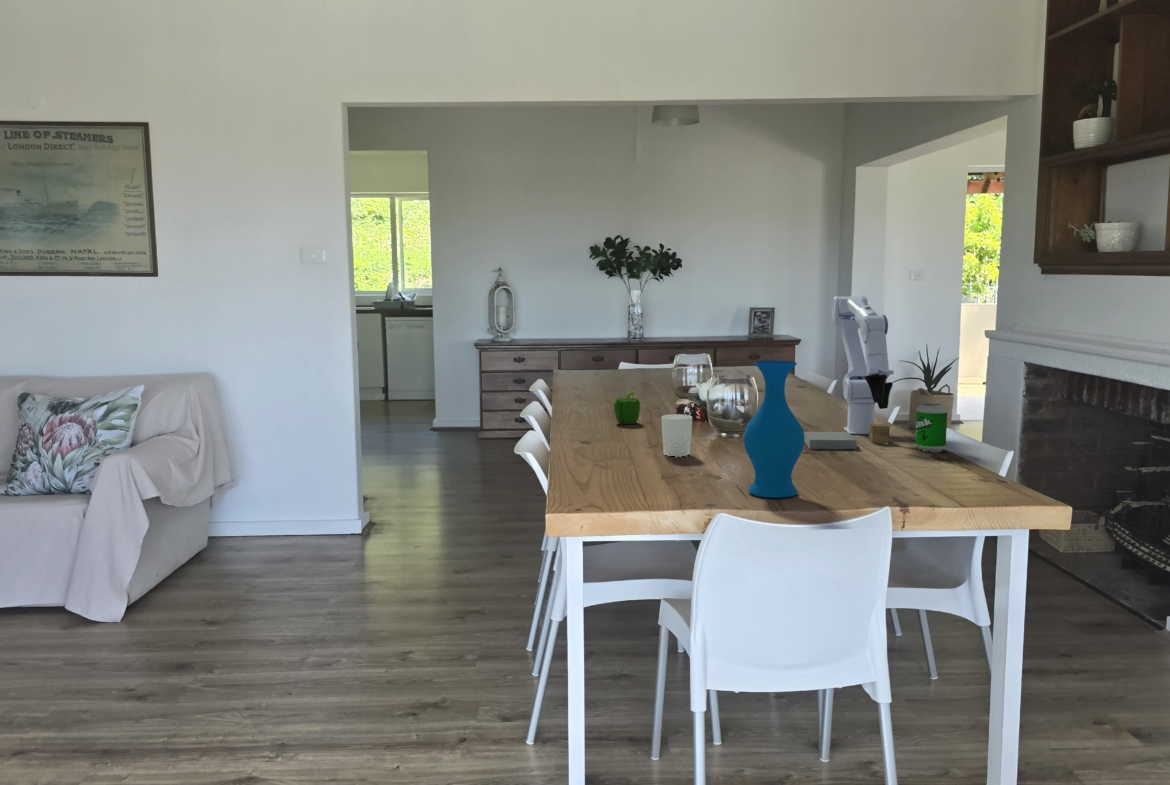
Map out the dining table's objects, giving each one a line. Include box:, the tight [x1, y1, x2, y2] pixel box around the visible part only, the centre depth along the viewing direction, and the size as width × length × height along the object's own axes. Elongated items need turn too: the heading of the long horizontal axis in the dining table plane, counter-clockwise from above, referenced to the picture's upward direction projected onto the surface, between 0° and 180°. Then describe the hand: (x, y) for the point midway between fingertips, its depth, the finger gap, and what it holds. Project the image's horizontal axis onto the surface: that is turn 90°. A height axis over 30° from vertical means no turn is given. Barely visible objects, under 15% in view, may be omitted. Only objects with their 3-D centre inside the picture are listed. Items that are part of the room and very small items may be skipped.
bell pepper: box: [613, 391, 641, 425], centre depth 274 cm, size 8×8×10 cm
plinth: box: [803, 431, 858, 450], centre depth 237 cm, size 12×12×2 cm
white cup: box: [660, 413, 693, 458], centre depth 225 cm, size 8×8×10 cm
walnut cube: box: [868, 422, 891, 444], centre depth 240 cm, size 4×4×5 cm
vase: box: [743, 360, 805, 499], centre depth 183 cm, size 12×13×28 cm
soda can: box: [914, 402, 948, 453], centre depth 228 cm, size 8×8×12 cm
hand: (881, 405), depth 236 cm, fingers open, 7 cm apart
